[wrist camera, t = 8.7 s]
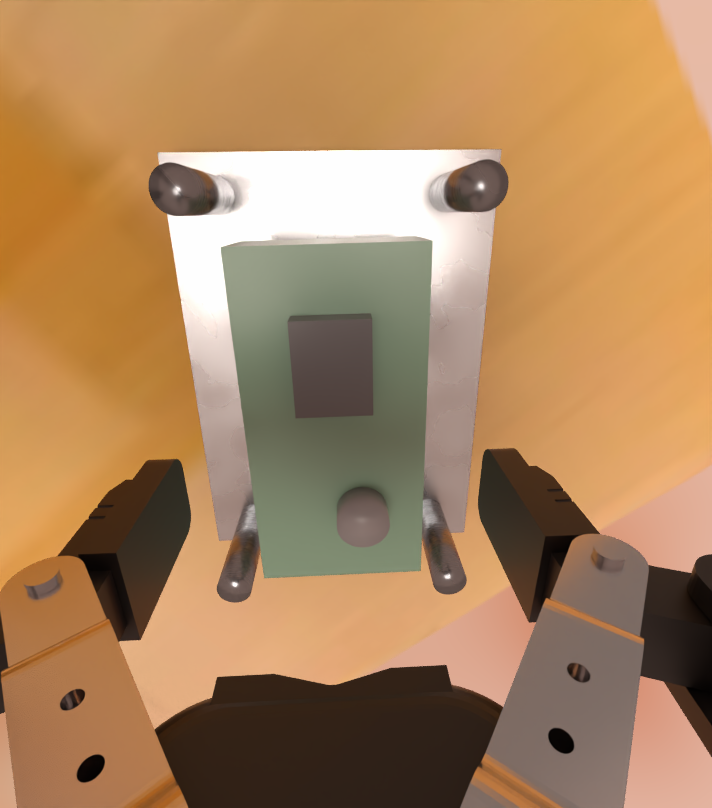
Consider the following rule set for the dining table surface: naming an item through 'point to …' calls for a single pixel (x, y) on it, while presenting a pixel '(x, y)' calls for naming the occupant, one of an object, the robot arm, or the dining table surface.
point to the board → (333, 398)
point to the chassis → (335, 218)
